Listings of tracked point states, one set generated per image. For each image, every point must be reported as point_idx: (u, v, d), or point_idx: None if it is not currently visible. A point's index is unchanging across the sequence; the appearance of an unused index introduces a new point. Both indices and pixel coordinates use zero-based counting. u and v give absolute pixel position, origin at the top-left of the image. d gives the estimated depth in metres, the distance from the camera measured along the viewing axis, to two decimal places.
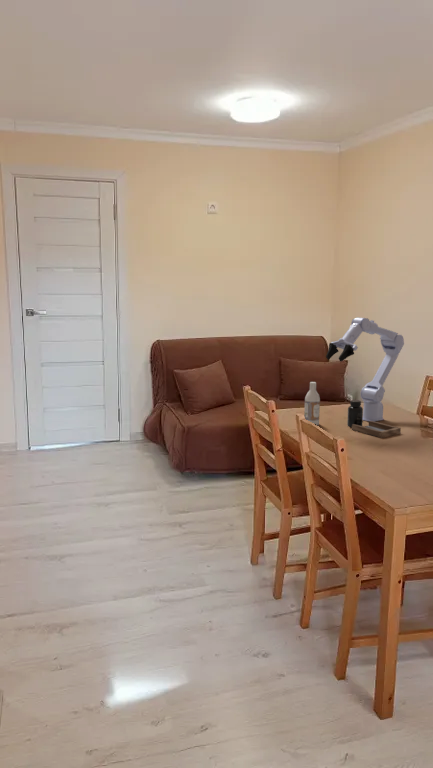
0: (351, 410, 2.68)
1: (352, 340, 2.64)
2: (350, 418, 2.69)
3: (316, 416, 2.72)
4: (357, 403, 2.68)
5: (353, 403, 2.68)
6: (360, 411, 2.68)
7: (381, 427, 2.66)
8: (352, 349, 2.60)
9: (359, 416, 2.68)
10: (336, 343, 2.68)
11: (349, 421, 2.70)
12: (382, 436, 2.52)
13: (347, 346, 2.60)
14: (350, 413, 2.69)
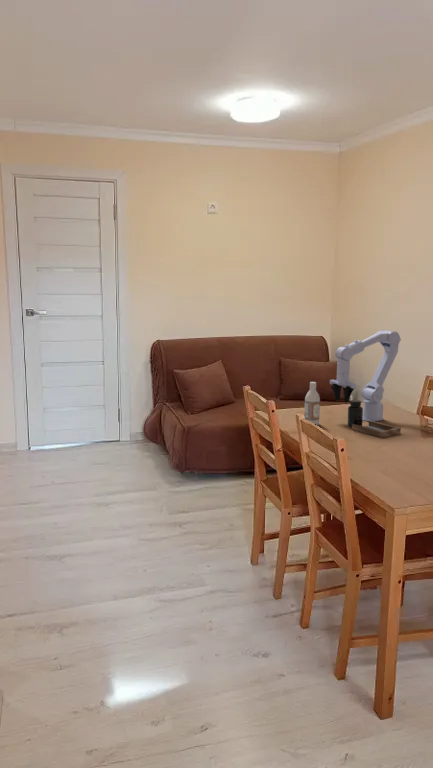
0: (351, 410, 2.68)
1: (347, 377, 2.73)
2: (350, 418, 2.69)
3: (316, 416, 2.72)
4: (357, 403, 2.68)
5: (353, 403, 2.68)
6: (360, 411, 2.68)
7: (381, 427, 2.66)
8: (350, 388, 2.72)
9: (359, 416, 2.68)
10: (335, 382, 2.78)
11: (349, 421, 2.70)
12: (382, 436, 2.52)
13: (345, 390, 2.71)
14: (350, 413, 2.69)
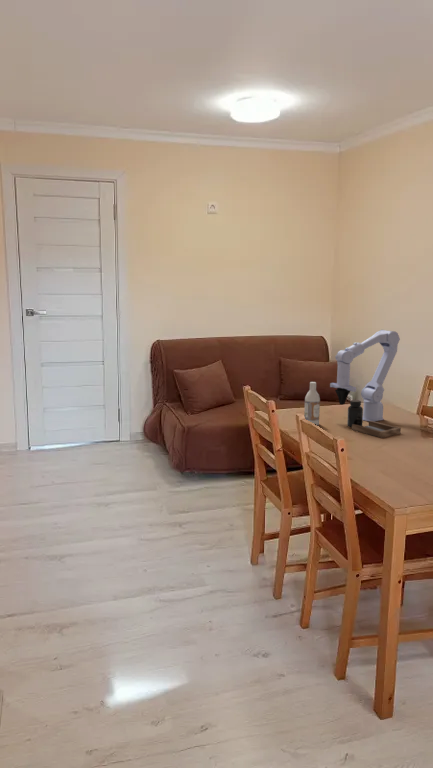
0: (351, 410, 2.68)
1: (347, 380, 2.73)
2: (350, 418, 2.69)
3: (316, 416, 2.72)
4: (357, 403, 2.68)
5: (353, 403, 2.68)
6: (360, 411, 2.68)
7: (381, 427, 2.66)
8: (347, 390, 2.74)
9: (359, 416, 2.68)
10: (335, 385, 2.78)
11: (349, 421, 2.70)
12: (382, 436, 2.52)
13: (341, 392, 2.73)
14: (350, 413, 2.69)
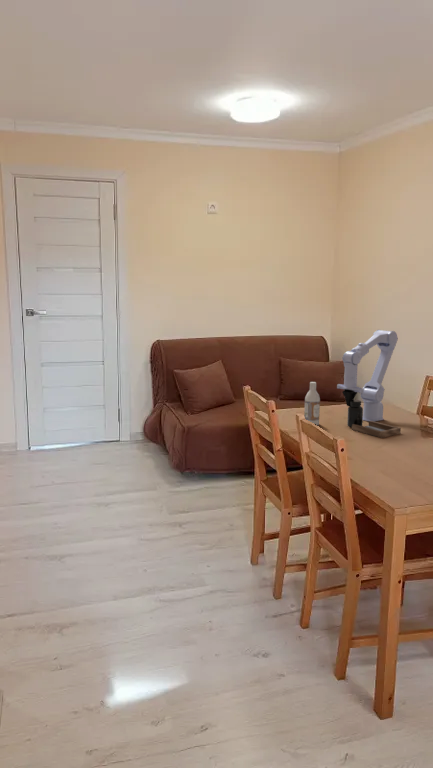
0: (351, 410, 2.68)
1: (354, 381, 2.69)
2: (350, 418, 2.69)
3: (316, 416, 2.72)
4: (357, 403, 2.68)
5: (353, 403, 2.68)
6: (360, 411, 2.68)
7: (381, 427, 2.66)
8: (354, 392, 2.70)
9: (359, 416, 2.68)
10: (342, 387, 2.75)
11: (349, 421, 2.70)
12: (382, 436, 2.52)
13: (348, 393, 2.70)
14: (350, 413, 2.69)
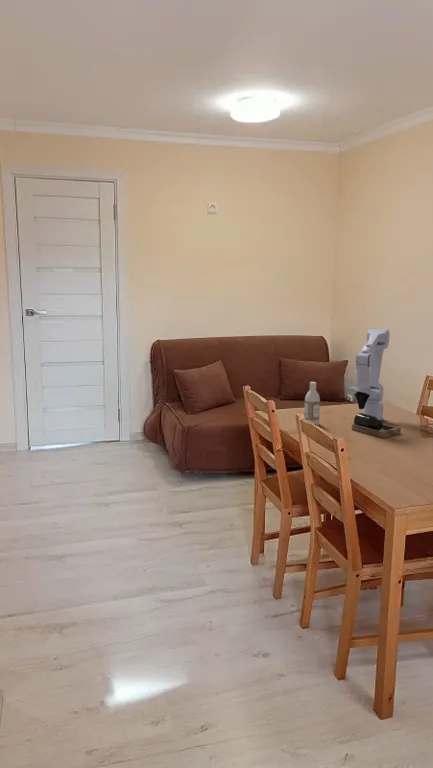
0: (367, 427, 2.60)
1: (367, 384, 2.63)
2: (360, 425, 2.63)
3: (316, 416, 2.72)
4: None
5: (374, 428, 2.58)
6: None
7: None
8: (366, 394, 2.64)
9: None
10: (354, 389, 2.69)
11: (357, 423, 2.64)
12: (382, 436, 2.52)
13: (361, 396, 2.64)
14: (364, 426, 2.61)
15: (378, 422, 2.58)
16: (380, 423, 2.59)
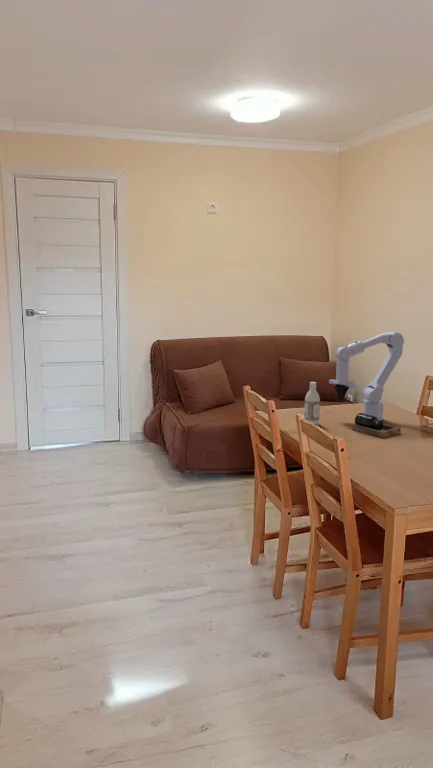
0: (368, 427, 2.60)
1: (346, 376, 2.76)
2: (361, 424, 2.63)
3: (316, 416, 2.72)
4: None
5: (375, 428, 2.58)
6: None
7: None
8: (346, 386, 2.78)
9: None
10: (334, 382, 2.82)
11: (358, 422, 2.64)
12: (382, 436, 2.52)
13: (340, 388, 2.77)
14: (365, 425, 2.61)
15: (379, 422, 2.58)
16: (381, 423, 2.59)
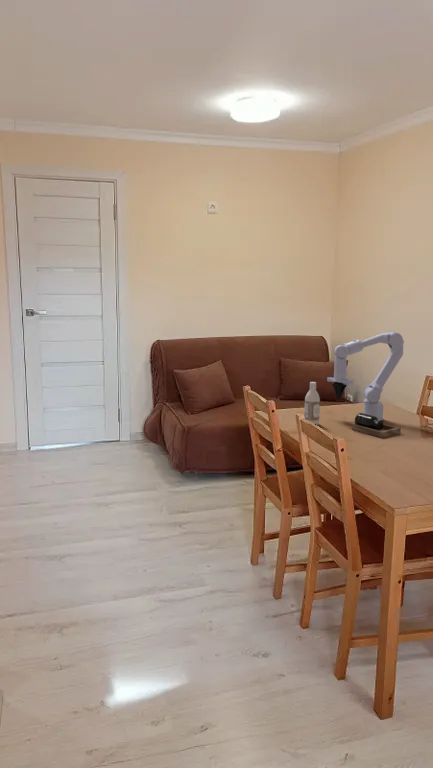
0: (368, 427, 2.60)
1: (344, 374, 2.79)
2: (361, 424, 2.63)
3: (316, 416, 2.72)
4: None
5: (375, 428, 2.58)
6: None
7: None
8: (343, 384, 2.80)
9: None
10: (332, 380, 2.85)
11: (358, 422, 2.64)
12: (382, 436, 2.52)
13: (338, 386, 2.80)
14: (365, 425, 2.61)
15: (379, 422, 2.58)
16: (381, 423, 2.59)
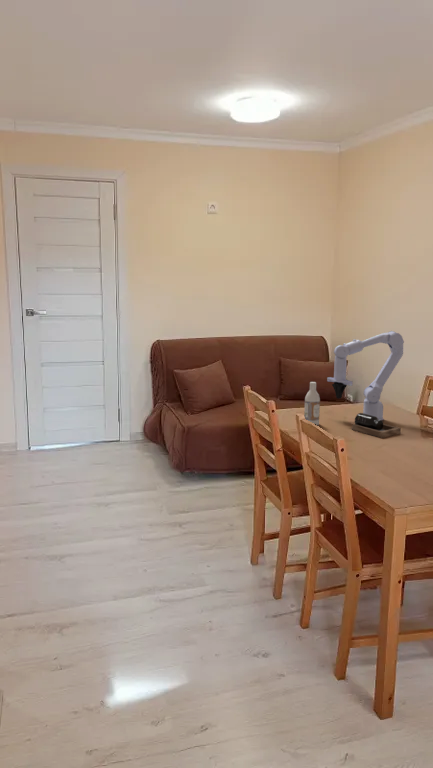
0: (368, 427, 2.60)
1: (344, 374, 2.79)
2: (361, 424, 2.63)
3: (316, 416, 2.72)
4: None
5: (375, 428, 2.58)
6: None
7: None
8: (343, 384, 2.80)
9: None
10: (332, 380, 2.85)
11: (358, 422, 2.64)
12: (382, 436, 2.52)
13: (338, 386, 2.80)
14: (365, 425, 2.61)
15: (379, 422, 2.58)
16: (381, 423, 2.59)
